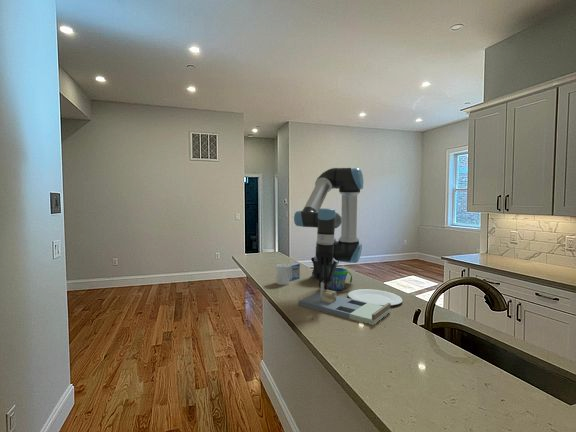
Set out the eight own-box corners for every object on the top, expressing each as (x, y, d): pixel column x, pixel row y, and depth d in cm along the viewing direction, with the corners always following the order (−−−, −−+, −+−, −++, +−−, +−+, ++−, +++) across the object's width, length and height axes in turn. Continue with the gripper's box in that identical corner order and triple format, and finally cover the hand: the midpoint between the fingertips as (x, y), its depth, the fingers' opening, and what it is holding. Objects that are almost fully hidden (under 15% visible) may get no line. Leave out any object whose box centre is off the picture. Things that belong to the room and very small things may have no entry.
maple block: (327, 298, 143) (327, 289, 143) (336, 300, 140) (336, 291, 140) (321, 300, 139) (322, 291, 139) (330, 303, 137) (331, 293, 136)
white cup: (283, 280, 180) (283, 263, 179) (293, 283, 174) (293, 265, 173) (272, 283, 174) (273, 264, 173) (282, 286, 168) (283, 267, 168)
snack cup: (350, 286, 171) (351, 268, 171) (352, 292, 161) (353, 272, 160) (321, 285, 173) (322, 266, 172) (321, 290, 162) (322, 270, 162)
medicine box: (291, 280, 180) (292, 265, 180) (285, 279, 183) (285, 264, 183) (299, 278, 187) (300, 263, 186) (293, 277, 189) (294, 262, 189)
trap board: (319, 295, 153) (320, 287, 153) (390, 312, 133) (390, 303, 133) (298, 305, 139) (299, 296, 138) (374, 325, 119) (374, 314, 118)
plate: (341, 302, 145) (341, 299, 145) (354, 289, 168) (354, 286, 168) (399, 312, 134) (399, 308, 134) (405, 297, 157) (405, 293, 157)
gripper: (308, 242, 141) (306, 295, 142) (334, 246, 133) (332, 301, 135) (317, 241, 147) (315, 291, 148) (342, 244, 139) (340, 297, 141)
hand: (323, 296), depth 141 cm, fingers closed
